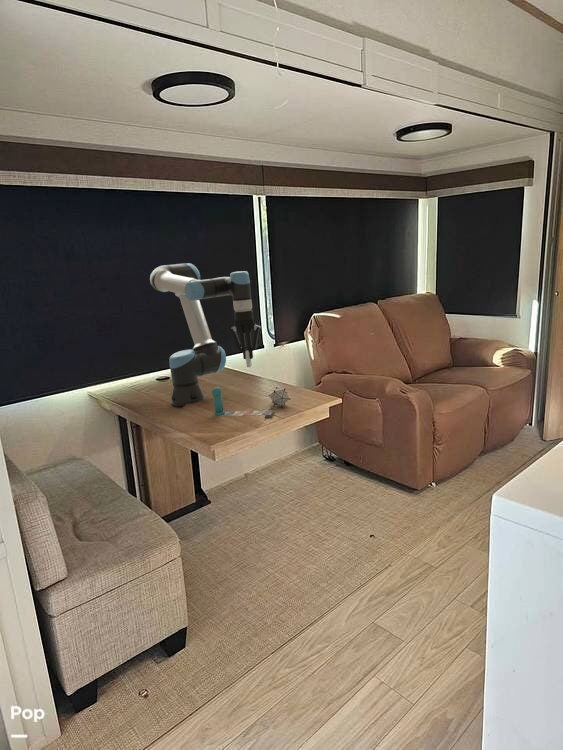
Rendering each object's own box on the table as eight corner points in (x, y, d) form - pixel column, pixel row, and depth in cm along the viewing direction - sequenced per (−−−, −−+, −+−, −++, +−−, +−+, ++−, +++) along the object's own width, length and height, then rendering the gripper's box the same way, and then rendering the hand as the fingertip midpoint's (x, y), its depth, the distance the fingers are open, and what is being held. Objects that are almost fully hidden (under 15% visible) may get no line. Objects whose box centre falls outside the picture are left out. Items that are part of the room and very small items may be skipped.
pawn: (213, 415, 203) (209, 388, 201) (216, 412, 207) (212, 385, 205) (223, 415, 203) (219, 388, 200) (226, 412, 207) (222, 385, 204)
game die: (279, 416, 211) (267, 402, 205) (273, 404, 218) (261, 390, 212) (296, 404, 211) (285, 389, 204) (290, 392, 217) (279, 378, 211)
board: (213, 419, 203) (212, 416, 203) (217, 414, 209) (217, 411, 208) (271, 417, 199) (270, 414, 198) (273, 412, 204) (273, 409, 204)
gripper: (225, 312, 201) (232, 369, 207) (257, 310, 199) (262, 368, 205) (230, 310, 208) (236, 365, 214) (260, 307, 206) (266, 363, 212)
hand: (249, 366), depth 209 cm, fingers closed
